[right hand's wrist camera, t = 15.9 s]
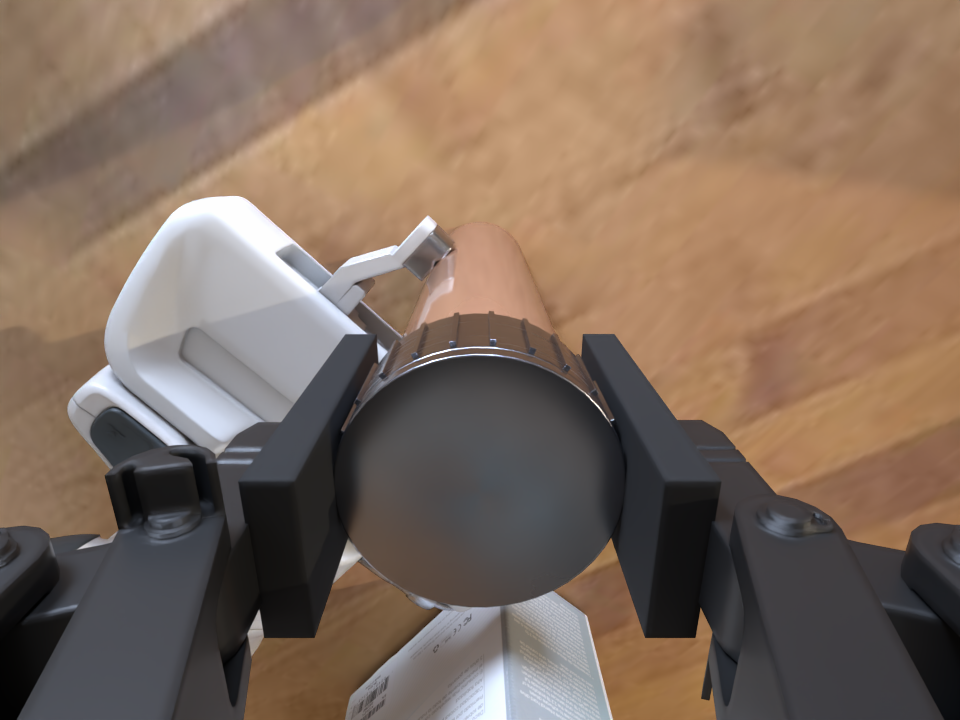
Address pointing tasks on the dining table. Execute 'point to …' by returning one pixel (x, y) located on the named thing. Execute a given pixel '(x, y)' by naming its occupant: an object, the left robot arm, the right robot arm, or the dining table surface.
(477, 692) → the hard drive box
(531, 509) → the lid
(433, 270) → the tan long rounded cylinder
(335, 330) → the left robot arm
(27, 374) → the dining table surface
